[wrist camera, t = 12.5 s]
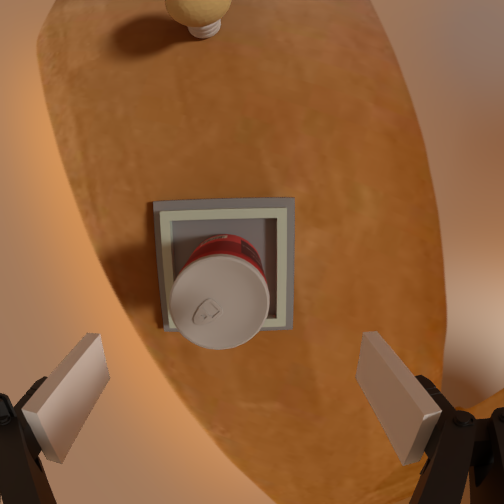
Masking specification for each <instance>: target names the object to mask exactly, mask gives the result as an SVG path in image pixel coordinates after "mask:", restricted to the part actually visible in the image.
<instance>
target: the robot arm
mask: <svg viewBox="0 0 504 504" xmlns="http://www.w3.org/2000/svg"><path fill="white" fill-rule="evenodd" d="M356 379H357V381H358V383H359V385H360V387H361V388H362V390H363V392H364V394H365V396H366V398H367V399H368V401H369V403H370V405H371V407H372V409H373V410H374V412H375V414H376V416H377V418H378V420H379V421H380V423H381V425H382V427H383V429H384V431H385V433H386V435H387V436H388V438H389V440H390V442H391V444H392V446H393V448H394V450H395V451H396V453H397V455H398V457H399V459H400V461H401V463H402V465H403V466H404V465H408V464H411V463H415V462H418V461H420V459H421V457H422V455H423V453H424V451H425V453H426V454H427V456H428V459H427V461H426V463H425V465H424V467H423V469H422V471H421V472H420V474H421V476H420V479H419V481H418V484H417V486H416V488H415V491H414V493H413V495H412V498H411V500H410V502H409V504H460V503H461V499H462V496H463V492H464V488H465V484H466V479H467V475H468V471H469V479H470V480H469V481H470V504H504V407H502V408H497V409H495V410H494V412H493V413H492V415H491V417H490V418H487V419H475V417H474V416H473V415H472V414H470V413H469V412H466V411H459V410H458V411H456V410H455V409H454V407H453V406H452V405H451V404H450V403H449V401H447V399H446V398H445V397H444V396H443V394H441V392H440V391H439V390H438V389H437V388H436V386H435V385H434V384H433V383H432V382H431V380H429V379H427V378H426V377H424V376H422V375H418V376H414V375H413V374H412V373H411V371H410V370H409V369H408V368H407V367H406V365H405V364H404V363H403V362H402V361H401V359H400V358H399V357H398V356H397V355H396V353H395V352H394V351H393V350H392V349H391V347H390V346H389V345H388V344H387V343H386V342H385V340H384V339H383V338H382V337H381V336H380V334H379V333H378V332H377V331H374V332H363V336H362V342H361V349H360V355H359V361H358V367H357V372H356ZM109 380H110V376H109V372H108V368H107V363H106V359H105V355H104V350H103V346H102V341H101V336H100V334H96V333H87V334H86V335H85V336H84V337H83V338H82V339H81V340H80V341H79V342H78V344H77V345H76V346H75V347H74V348H73V349H72V350H71V351H70V352H69V354H68V355H67V356H66V357H65V358H64V359H63V360H62V362H61V363H60V364H59V365H58V366H57V367H56V369H55V370H54V371H53V372H52V373H51V374H50V375H49V377H43V378H41V379H39V380H38V381H36V382H35V383H34V384H33V386H32V387H31V388H30V389H29V390H28V391H27V392H26V395H24V396H23V397H22V398H21V399H20V401H19V402H18V403H17V404H16V405H15V406H14V408H13V406H12V404H11V401H10V399H9V397H8V396H7V395H5V394H2V393H0V497H1V496H2V500H3V504H57V503H56V501H55V498H54V496H53V493H52V491H51V488H50V485H49V483H48V480H47V477H46V474H45V471H44V468H43V466H42V463H41V460H40V458H39V457H38V455H39V453H40V452H41V450H42V452H43V453H44V455H45V457H46V459H47V460H50V461H54V462H57V463H60V464H62V463H63V461H64V459H65V457H66V455H67V454H68V452H69V450H70V448H71V446H72V444H73V443H74V441H75V439H76V437H77V435H78V433H79V432H80V430H81V428H82V426H83V424H84V423H85V421H86V419H87V417H88V416H89V414H90V412H91V410H92V409H93V407H94V405H95V403H96V401H97V400H98V398H99V396H100V394H101V393H102V391H103V390H104V388H105V386H106V384H107V383H108V381H109Z"/></svg>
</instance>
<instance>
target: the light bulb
mask: <svg viewBox="0 0 504 504" xmlns="http://www.w3.org/2000/svg"><path fill="white" fill-rule="evenodd" d="M230 4H231V0H165V5H166V9H167V11H168V13H169V15H170V16H171V17H172V18H173V19H174V20H175V21H177V22H178V23H180V24H182V25H185V26H187V27H188V30H189V32H190V33H191V34H192V35H193V36H195V37H197V38H209V37H211V36H213V35H215V34H216V33H217V32H218V31H219V29H220V26H221V21H220V18H222V17H223V16H224V15H225V13H226V12H227V10H228V9H229V7H230Z"/></svg>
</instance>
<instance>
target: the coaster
mask: <svg viewBox="0 0 504 504" xmlns="http://www.w3.org/2000/svg"><path fill="white" fill-rule="evenodd" d="M153 211H154V229H155V244H156V257H157V269H158V280H159V290H160V299H161V308H162V317H163V325H164V331H172V332H179V331H178V330H177V328H176V326H175V324H174V323H173V321H172V318H171V315H170V309H169V298H170V292H171V289H172V286H173V283H174V281H175V279H176V278H177V276H178V274H179V272H180V271H181V269H182V268H183V266H184V265H185V263H186V262H187V261H188V259H189V258H190V256H191V255H192V253H193V252H194V250H195V249H196V248H197V247H198V246H199V245H200V244H201V243H202V242H203V241H205V240H206V239H208V238H210V237H213V236H216V235H221V234H231V235H236V236H239V237H242V238H243V239H245V240H247V241H248V242H249V243H251V244H252V245H253V246H254V248H255V249H256V250H257V252H258V254H259V257H260V259H261V263H262V267H263V270H264V274H265V277H266V281H267V285H268V290H269V295H270V304H269V311H268V316H267V318H266V320H265V323H264V324H263V326H262V327H261V329H260V330H259V331H265V330H288V329H293V299H294V241H295V198H294V197H261V198H217V199H189V200H168V201H154V202H153Z"/></svg>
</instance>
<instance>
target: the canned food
mask: <svg viewBox="0 0 504 504" xmlns="http://www.w3.org/2000/svg"><path fill="white" fill-rule="evenodd" d="M269 304H270V295H269V290H268V285H267V281H266V277H265V274H264V270H263V267H262V263H261V259H260V257H259V254H258V252H257V250H256V249H255V248H254V246H253V245H252V244H251V243H249V242H248V241H247V240H245V239H243V238H242V237H239V236H236V235H231V234H221V235H216V236H213V237H210V238H208V239H206V240H205V241H203V242H202V243H201V244H200V245H199V246H198V247H197V248H196V249H195V250H194V252H193V253H192V255H191V256H190V258H189V259H188V261H187V262H186V263H185V265H184V266H183V268H182V269H181V271H180V272H179V274H178V276H177V278H176V279H175V281H174V283H173V286H172V289H171V292H170V298H169V309H170V315H171V318H172V321H173V323H174V324H175V326H176V328H177V330H178V331H179V332H180V333H181V334H182V335H183V336H184V337H185V338H186V339H188V340H189V341H190V342H192V343H194V344H196V345H198V346H201V347H204V348H207V349H216V350H220V349H229V348H233V347H237V346H239V345H241V344H243V343H245V342H247V341H248V340H250V339H251V338H252V337H254V336H255V335H256V334H257V333H258V332H259V330H260V329H261V327H262V326H263V324H264V323H265V320H266V318H267V316H268V311H269Z"/></svg>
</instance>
